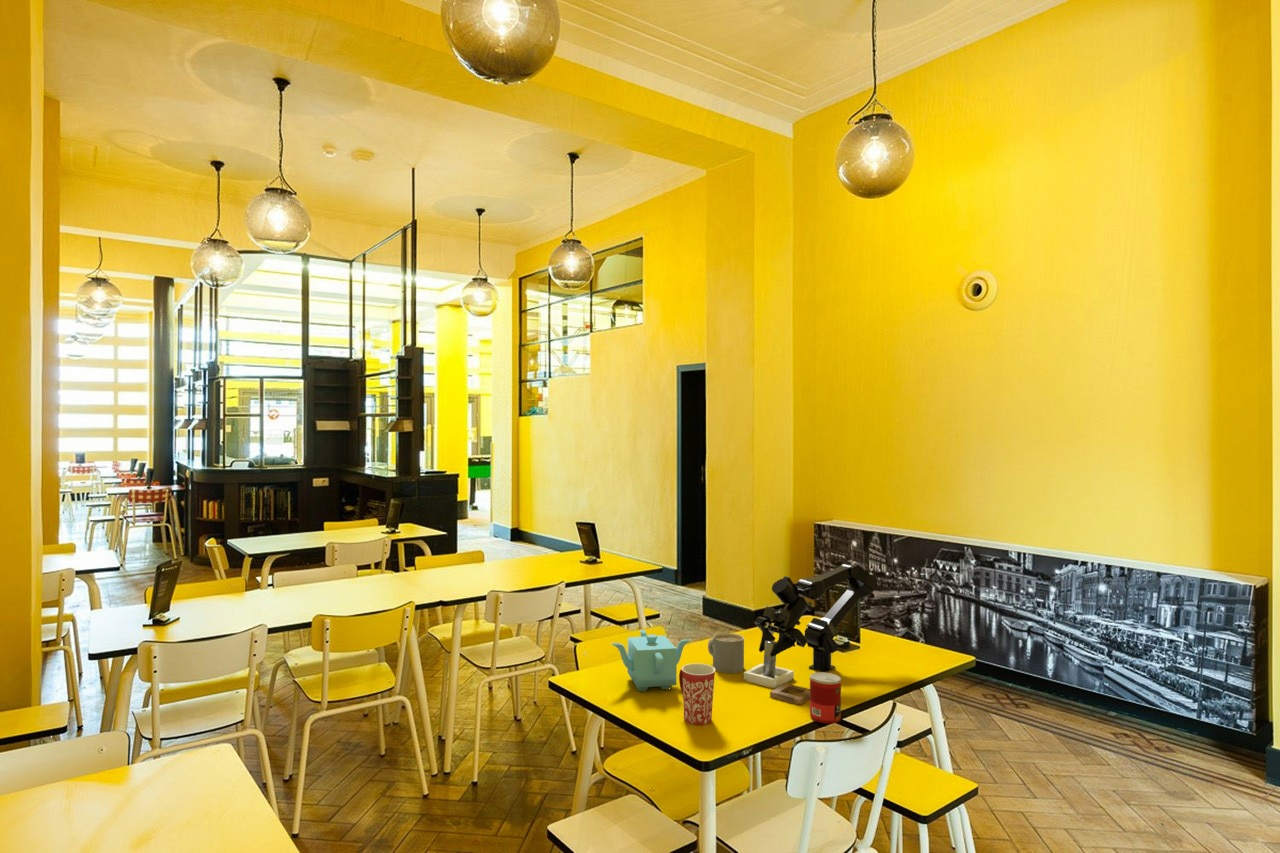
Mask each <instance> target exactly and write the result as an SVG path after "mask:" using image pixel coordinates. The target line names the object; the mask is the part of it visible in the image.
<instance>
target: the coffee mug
mask: <svg viewBox="0 0 1280 853" xmlns="http://www.w3.org/2000/svg"><path fill="white" fill-rule="evenodd" d="M707 650H708V654H709V655H710V656H712V667H714V668H715V669H716V670H717V671H716V672H718V671H719V672H718V673H722V672H723V674H738V673H741V672H743V671H744V668H745V660H744V659H745V637H744V636H743V635H740V634H738V633H731V632H720V633H716V634H714V635H713V636H712V638H709V640H708V643H707Z"/></svg>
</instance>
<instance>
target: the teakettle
mask: <svg viewBox="0 0 1280 853" xmlns="http://www.w3.org/2000/svg"><path fill="white" fill-rule="evenodd" d="M639 631H640V636H633V637H632V636H631V637H627V650H626V648H625V646H624V644H622V643H619V642H612V643H610V645H612V646H614V647H615V648H617V649H618V651H619V654H620V656H621V661H622V663H623V665H624V666H625V668H627V673H628V676H629V677H630V679H631V681H632V683H634V686H635V687H636V688H637V691H639V692H646V690H647V691H648V688H654V687H655V688H656V687H657V688H658V687H660V689H661V688H662V689H661V690H663V689H669V688H670V687H671V686H677V679H678V678H677V670H678V669H677V668H678V667H677V665H678V664H679V663H680V660H681V657H682V654H683V650H684V647H685V646H686V644H687V643H689V642H691V641H692V639H691V638H685V639H681V640H680V641H679V642H678V644H677V646H675V645H674V644H673V643H672V641H670V639H669V638H668V637H667V636H666V635H656V634H648V635H647V631H646V630H645V629H640V630H639ZM669 690H670V689H669Z"/></svg>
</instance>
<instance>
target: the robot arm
mask: <svg viewBox="0 0 1280 853" xmlns="http://www.w3.org/2000/svg"><path fill="white" fill-rule="evenodd" d="M845 581H848V582H847V584H848V585H847V589H846V591H845V592H844V593H843V594H842V595H841V596H840V598H838V599H837V601H836V602H835V603H834V604H833V605H832V606H831V608H830V609H829V610H828V612H827V613H825V615H824V616H823V617H821V618H818V617H813V618H812V619H811V621H810V622H809V623H808V624H806V625H805V626H806V628H805V629H804V634H803V632H802V631H801V630H800V629H798V628H795V627H796V626H800V625H801V621H800V619H801V618H802V616H803V614H804V613H805V612H806V611H809V612H812V611H813V607H812V602H810V601H807V600H806V599H808V600H812V601H816V600H818V599H819V598H821V597H822V596H823V595H825V592H826V591H827V590H828V589H830V588H832V587H834V586H836V585H839V584H840V583H843V582H845ZM877 589H878V579H877V577H876V576H875V575H874V574H870V573H868V572H866V571H864V570H862V569H860V568H859V567H857V566H856V565H853V564H849V563H842V564H841V565H840V566H839V567H836V568H834V569H831V570H830V571H826V572H825V573H822V574H820V575H819V576H813V577H812V576H811V577H810V576H809V577H805V578H804V577H803V578H800V579H799V580H798V581H797V582H795V583H794V582H793V581H792V579H791V578H790V577H789V576H786V575H785V576H783V578H780V579H778V580H777V581H775V582H774V583H773V584H772V587H771V591H772V592H773V593H774V595H775V596H776V597H777V599H778V600H779V601H780V602H781V603H782V604H783V605H785V606H784V608H782V607H780V608H779V609H776V608H773V607H769V606H765V609H764V612H763V615H762V616H763V617H762V616H758V617H756V619H755V620H754V621H753V622H754V624H755V626H757V628H758V629H760V631H761V632H762V634H761V639H760V643H759V647H758V651H759V652H760V653H762V652H764V650H765V641H766V640H773V641H775V640H776V637H775V636H774V633H775V634H778V639H777V641H776V642H777V643H776V644H775V646H774V648H773V649H772V651H771V653H770V655H771V656H772V657H773V656H775V655H776V656H777V655H779V654H780V653H782V652H784V651H786V650H788V649H790V648H792V647H796V646H798V647H801V648H805V646H806V645H807V647H808V648H811V649H812V664H811V665H809V666H808V668H809V669H811V670H816V671H819V672H824V673H830V672H831V671H832V670H834V669H836V666H835V665H833V664H832V654H834V653H836V652H838V651H837V650H838V648H839V644H838V643H837V642H836V641H835V640H834V638H835V635H836V634H835V632H836V628H837V627H838V626H839V624H840V623H841V622H842V621H843V620H844V618H846V616H847V615H848V614H849V613H850V611H851V610H852V609H853V608H854V607H855V605H857V603H858V602H859V601H860V600H861V599H863V598H866V597H868V596H870V595H871V594H873V592H875V591H876V590H877ZM805 598H806V599H805ZM765 617H766V618H765ZM769 619H770V620H769ZM795 643H796V644H795Z"/></svg>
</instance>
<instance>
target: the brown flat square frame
mask: <svg viewBox="0 0 1280 853" xmlns="http://www.w3.org/2000/svg"><path fill="white" fill-rule="evenodd" d="M788 692H789V693H788ZM790 693H792V694H790ZM795 694H797V695H795ZM769 697H770V698H773V699H776V700H779V699H780V701H784V702H786V703H787V702H788V703H790V704H795V705H798V706H801V705H803V704H804V703H805V702H807V701H810V688H807V687H802V686H798V685H795V684H791V683H785V684H783V685H781V686H779V687H778V688H776V689H775V688H773V690H771V691H770V692H769Z"/></svg>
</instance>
